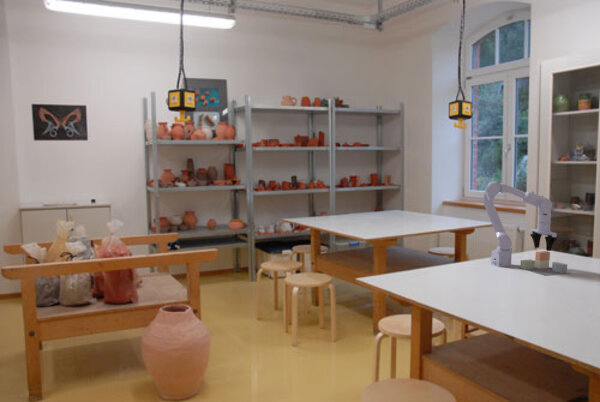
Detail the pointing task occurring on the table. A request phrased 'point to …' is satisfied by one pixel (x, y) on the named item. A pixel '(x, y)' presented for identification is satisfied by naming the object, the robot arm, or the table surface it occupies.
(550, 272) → the mat
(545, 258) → the terracotta brick
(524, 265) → the sage brick
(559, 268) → the bluegrey brick
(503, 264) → the robot arm
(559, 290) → the table surface
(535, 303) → the table surface
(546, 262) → the cream brick
